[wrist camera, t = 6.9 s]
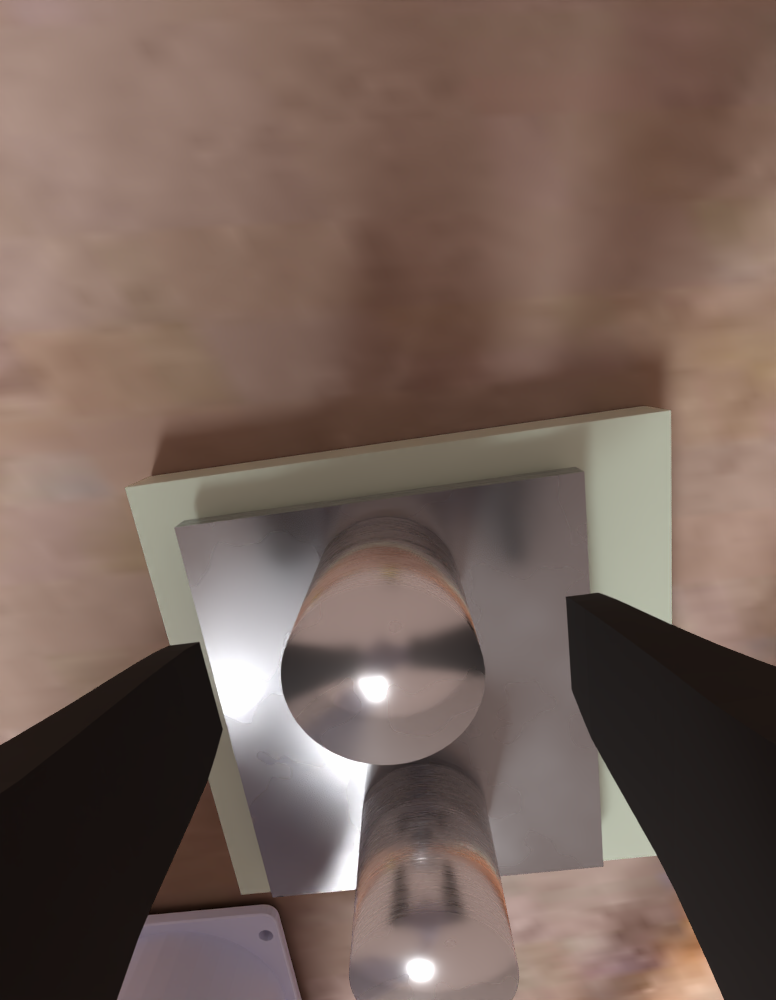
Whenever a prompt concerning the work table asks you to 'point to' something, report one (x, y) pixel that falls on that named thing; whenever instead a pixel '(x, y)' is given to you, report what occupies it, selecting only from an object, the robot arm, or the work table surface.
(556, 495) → the scale platform
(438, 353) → the work table surface
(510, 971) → the cylinder
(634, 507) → the scale
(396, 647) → the cylinder
